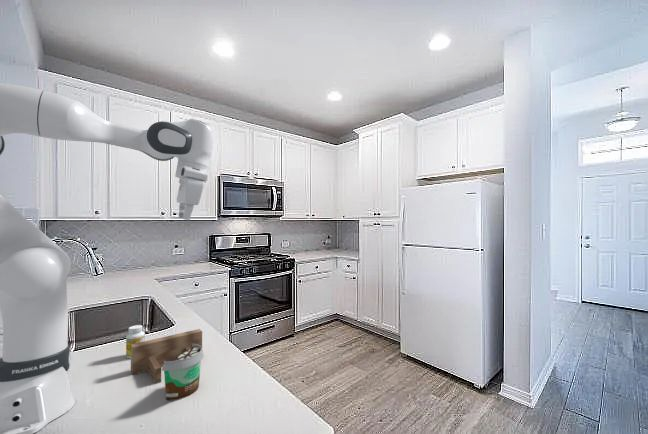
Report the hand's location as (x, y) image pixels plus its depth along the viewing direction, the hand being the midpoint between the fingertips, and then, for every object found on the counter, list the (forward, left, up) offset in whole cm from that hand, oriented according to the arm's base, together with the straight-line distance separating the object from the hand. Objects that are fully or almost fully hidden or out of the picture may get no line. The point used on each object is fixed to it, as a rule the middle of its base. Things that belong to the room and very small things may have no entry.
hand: (183, 218), depth 90 cm
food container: (-2, -12, -46) cm, 48 cm away
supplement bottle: (-9, +23, -46) cm, 52 cm away
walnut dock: (-2, +4, -46) cm, 46 cm away
